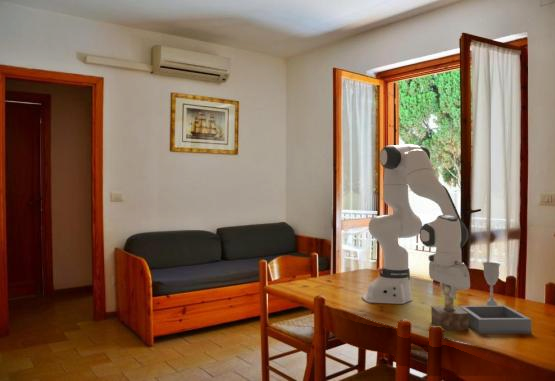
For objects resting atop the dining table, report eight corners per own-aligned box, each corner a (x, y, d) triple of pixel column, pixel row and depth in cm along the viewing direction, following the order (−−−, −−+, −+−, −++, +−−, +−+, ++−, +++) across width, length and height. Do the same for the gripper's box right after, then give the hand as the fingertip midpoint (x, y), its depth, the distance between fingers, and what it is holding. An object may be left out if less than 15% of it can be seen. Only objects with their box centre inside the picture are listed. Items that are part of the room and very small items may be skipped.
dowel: (448, 322, 161) (447, 287, 161) (443, 320, 164) (442, 285, 164) (455, 321, 162) (454, 286, 161) (450, 319, 164) (450, 284, 164)
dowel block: (440, 330, 158) (440, 313, 158) (431, 321, 168) (431, 306, 168) (468, 330, 157) (468, 313, 157) (458, 321, 167) (457, 306, 167)
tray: (479, 333, 153) (478, 319, 153) (459, 318, 171) (459, 305, 171) (531, 333, 153) (531, 319, 153) (506, 318, 171) (506, 305, 171)
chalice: (479, 303, 193) (479, 262, 193) (494, 302, 193) (493, 262, 193) (489, 307, 186) (488, 265, 186) (504, 307, 186) (503, 264, 186)
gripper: (474, 263, 153) (475, 303, 153) (440, 254, 173) (440, 289, 173) (458, 264, 152) (459, 304, 152) (425, 255, 171) (426, 290, 172)
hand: (448, 296), depth 163 cm, fingers closed on dowel, 3 cm apart
